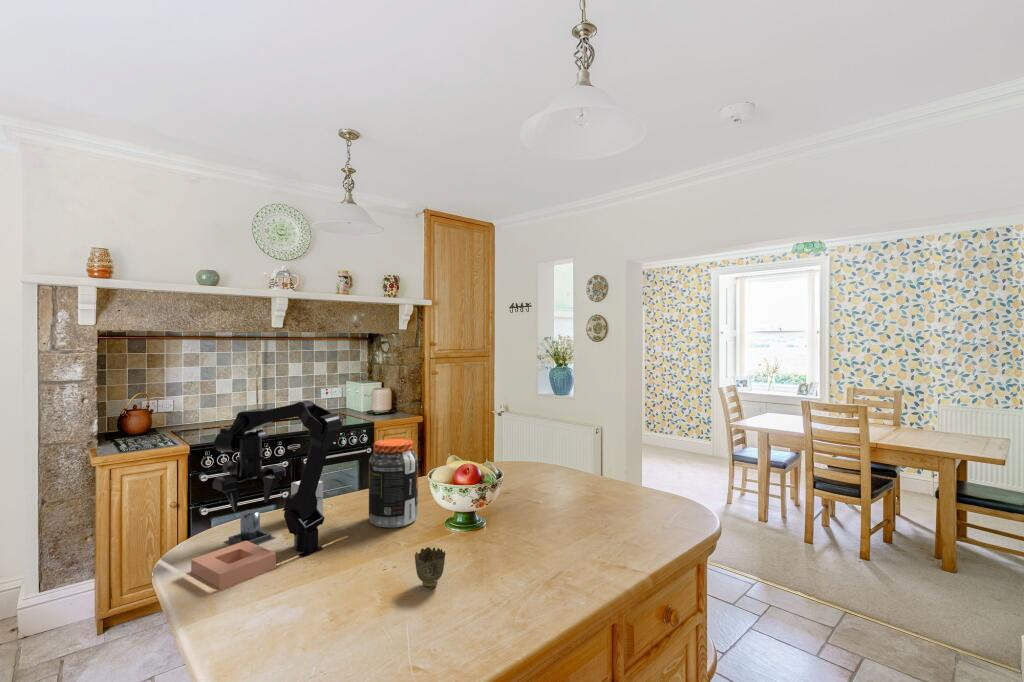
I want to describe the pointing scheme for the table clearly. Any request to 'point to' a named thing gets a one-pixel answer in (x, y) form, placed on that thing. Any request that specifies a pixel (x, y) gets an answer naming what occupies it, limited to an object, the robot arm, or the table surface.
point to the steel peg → (249, 525)
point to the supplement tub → (393, 483)
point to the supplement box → (318, 494)
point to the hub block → (233, 564)
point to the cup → (430, 566)
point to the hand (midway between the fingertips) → (250, 506)
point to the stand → (263, 538)
